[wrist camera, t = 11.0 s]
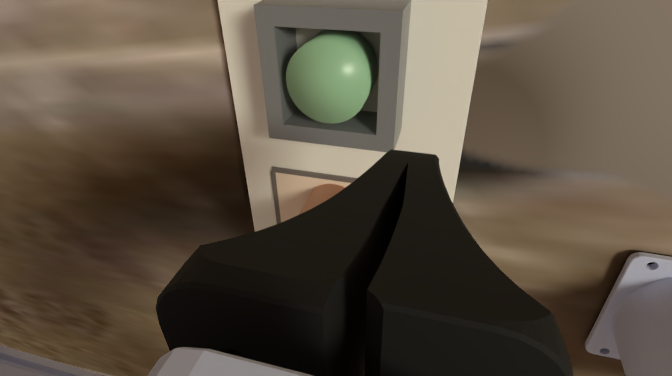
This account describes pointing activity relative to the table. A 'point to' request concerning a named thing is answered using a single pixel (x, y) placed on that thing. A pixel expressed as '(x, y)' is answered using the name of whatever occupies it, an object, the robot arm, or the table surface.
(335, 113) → the button
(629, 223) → the table surface
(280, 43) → the button housing
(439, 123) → the white flat panel
